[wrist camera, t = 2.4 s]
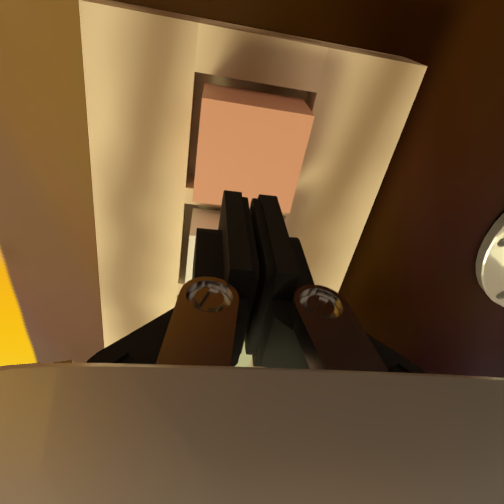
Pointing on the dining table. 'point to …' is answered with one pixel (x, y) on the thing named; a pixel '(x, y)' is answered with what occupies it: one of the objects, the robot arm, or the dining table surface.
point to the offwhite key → (199, 220)
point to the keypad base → (186, 141)
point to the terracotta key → (250, 144)
